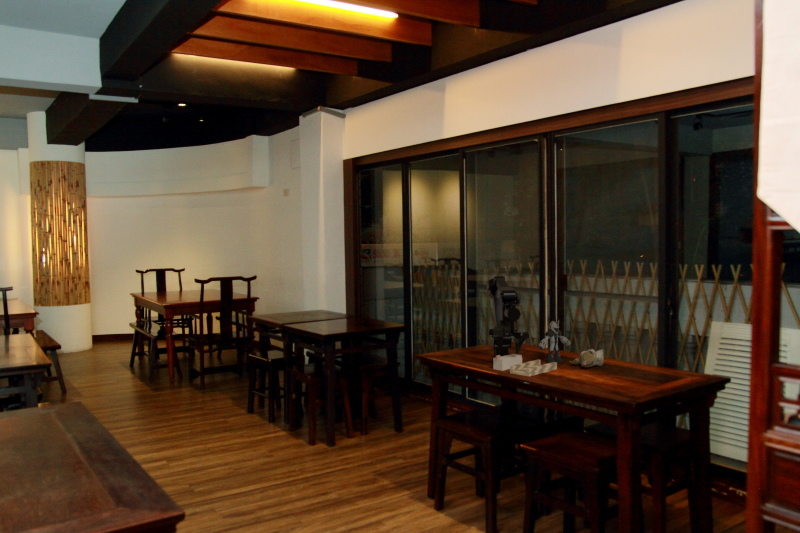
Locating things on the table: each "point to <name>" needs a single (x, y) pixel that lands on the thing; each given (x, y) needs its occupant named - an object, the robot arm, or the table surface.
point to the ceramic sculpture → (590, 358)
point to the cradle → (532, 368)
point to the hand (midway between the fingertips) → (508, 352)
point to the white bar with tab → (506, 361)
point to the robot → (553, 342)
